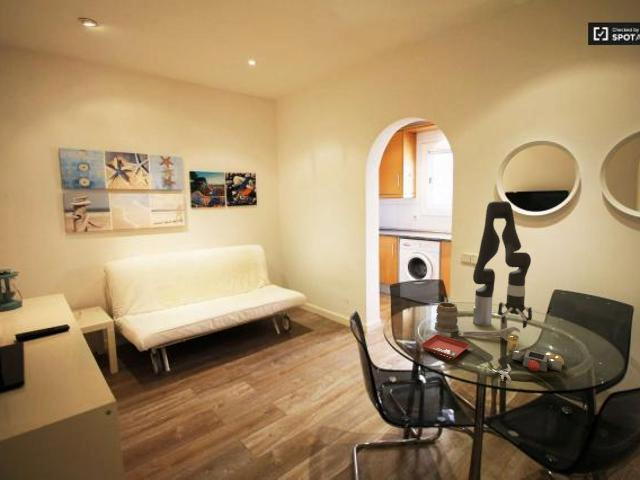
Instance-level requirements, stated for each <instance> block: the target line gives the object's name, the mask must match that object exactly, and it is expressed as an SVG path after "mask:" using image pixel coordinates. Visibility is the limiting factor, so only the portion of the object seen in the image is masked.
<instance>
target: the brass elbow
mask: <svg viewBox="0 0 640 480" xmlns="http://www.w3.org/2000/svg"><path fill="white" fill-rule="evenodd" d="M543 354H547V355H548V358H550V359H554V360H558V361H562V367H563V366H564V365H565V361H564V359H563V358H562V356H561V355H559V354H556V353H549V352H547V353H546V352H544V353H543Z"/></svg>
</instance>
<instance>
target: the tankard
mask: <svg viewBox="0 0 640 480" xmlns="http://www.w3.org/2000/svg"><path fill="white" fill-rule="evenodd" d="M435 311H436V317H435V319H436V322H434V329H436V330H437V331H440V332H442V333H452V334H453V333H455V332H459V325H458V321H459V320H458V315H459V311H458V306H457V304H455V303H453V302H448V296H444V301H441V302H439V303H437V306H436V310H435Z"/></svg>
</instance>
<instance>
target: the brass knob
mask: <svg viewBox="0 0 640 480" xmlns="http://www.w3.org/2000/svg"><path fill="white" fill-rule="evenodd" d="M507 338H508V341H507V346H506V347H507V348H506V351H507V353H510V354H512V351H513V350H517V351H518V346H519V339H520V336H519V335H517V334H513V333H511V334H509V335H507Z"/></svg>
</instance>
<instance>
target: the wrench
mask: <svg viewBox="0 0 640 480" xmlns="http://www.w3.org/2000/svg"><path fill="white" fill-rule="evenodd" d="M457 332H458V337H463V338H464V337H465V338H466V337H468V338H469V337H470V338H471V337H484V338H485V337H494V338H495V337H496V338H501V339H504V341H505V342H508V338H507V335H509V334H513V333H514V332H517V333H521V330H520V329H519V327H517V326H514V325H510V326H507V327H506V328H503V329H499V330H472V329H471V330H469V329H468V330H466V329H465V330H458V331H457ZM460 333H463V334H460Z"/></svg>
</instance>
